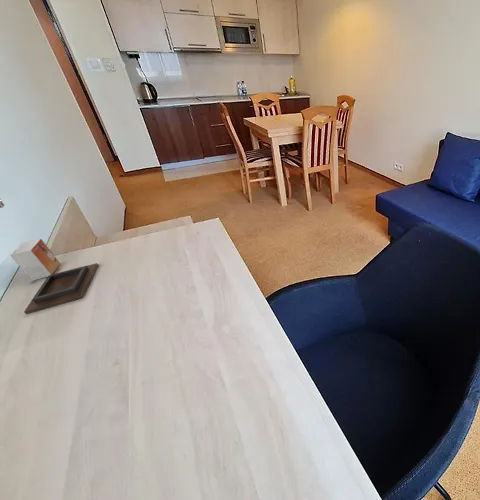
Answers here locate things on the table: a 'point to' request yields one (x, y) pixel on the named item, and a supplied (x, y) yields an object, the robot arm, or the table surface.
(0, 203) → the robot arm
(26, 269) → the small box
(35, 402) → the table surface
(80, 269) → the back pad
